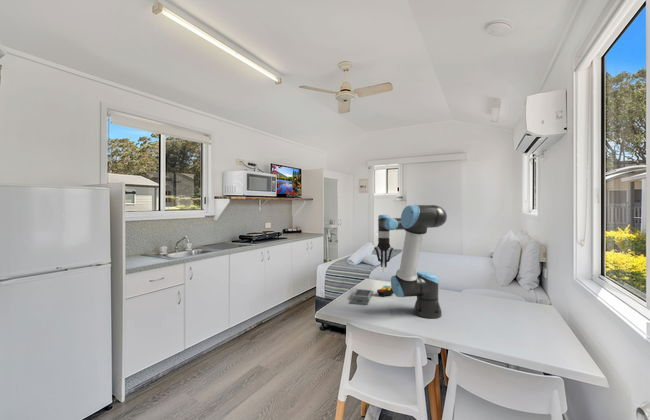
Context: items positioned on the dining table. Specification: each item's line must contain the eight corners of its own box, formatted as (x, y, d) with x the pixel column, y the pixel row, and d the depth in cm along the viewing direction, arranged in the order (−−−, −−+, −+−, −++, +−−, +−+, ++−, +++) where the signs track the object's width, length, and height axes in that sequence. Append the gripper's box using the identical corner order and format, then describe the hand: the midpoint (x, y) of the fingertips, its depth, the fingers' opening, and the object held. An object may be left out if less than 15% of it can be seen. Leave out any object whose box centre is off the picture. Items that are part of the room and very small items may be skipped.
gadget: (374, 294, 195) (374, 286, 195) (390, 292, 201) (390, 284, 201) (380, 297, 190) (380, 288, 190) (396, 295, 195) (396, 286, 195)
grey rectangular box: (367, 305, 175) (367, 300, 175) (349, 303, 178) (349, 298, 178) (373, 292, 202) (373, 288, 202) (358, 291, 205) (358, 287, 205)
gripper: (394, 237, 195) (394, 271, 195) (375, 236, 199) (375, 270, 200) (393, 238, 188) (393, 273, 188) (373, 237, 192) (373, 272, 193)
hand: (383, 271), depth 194 cm, fingers closed
